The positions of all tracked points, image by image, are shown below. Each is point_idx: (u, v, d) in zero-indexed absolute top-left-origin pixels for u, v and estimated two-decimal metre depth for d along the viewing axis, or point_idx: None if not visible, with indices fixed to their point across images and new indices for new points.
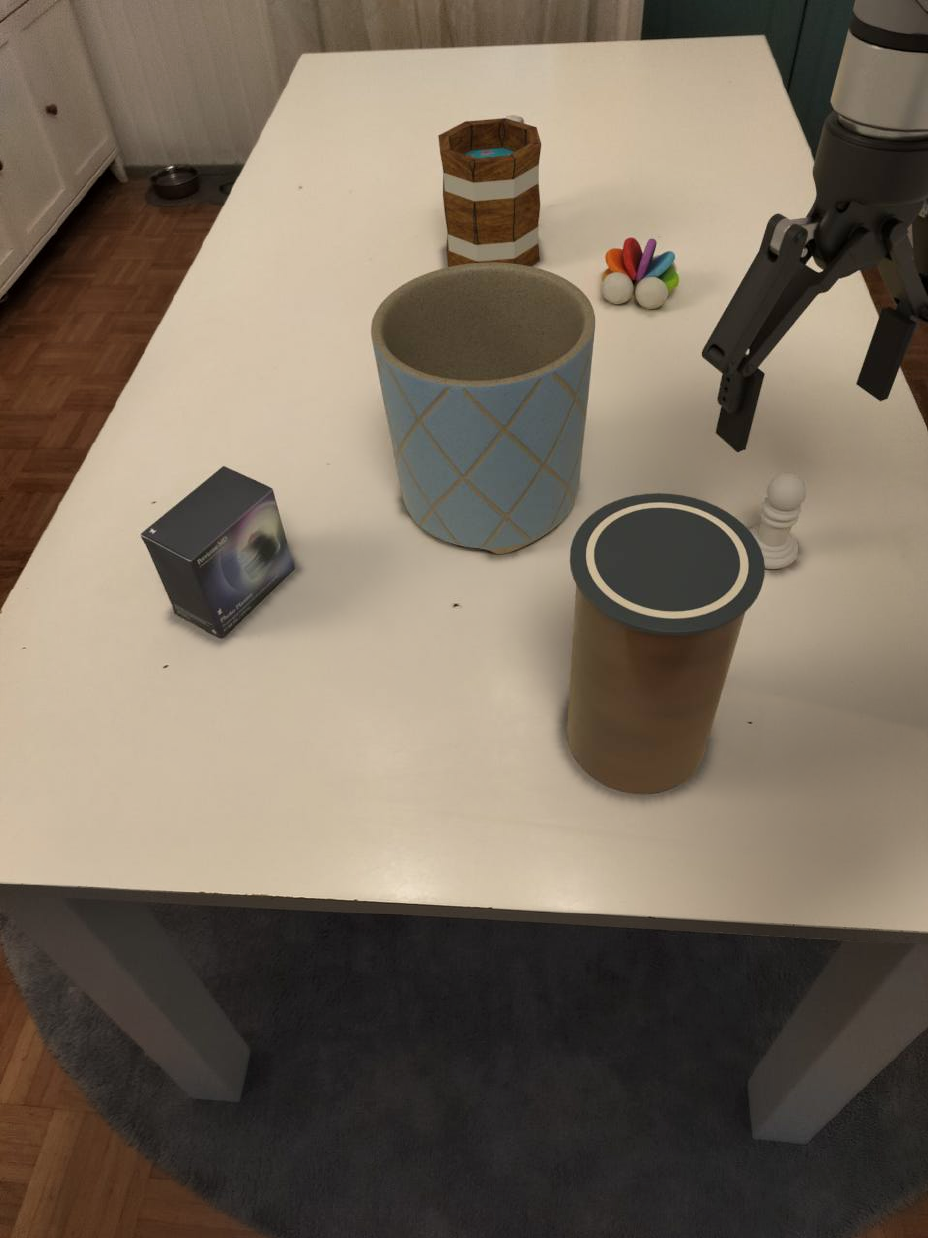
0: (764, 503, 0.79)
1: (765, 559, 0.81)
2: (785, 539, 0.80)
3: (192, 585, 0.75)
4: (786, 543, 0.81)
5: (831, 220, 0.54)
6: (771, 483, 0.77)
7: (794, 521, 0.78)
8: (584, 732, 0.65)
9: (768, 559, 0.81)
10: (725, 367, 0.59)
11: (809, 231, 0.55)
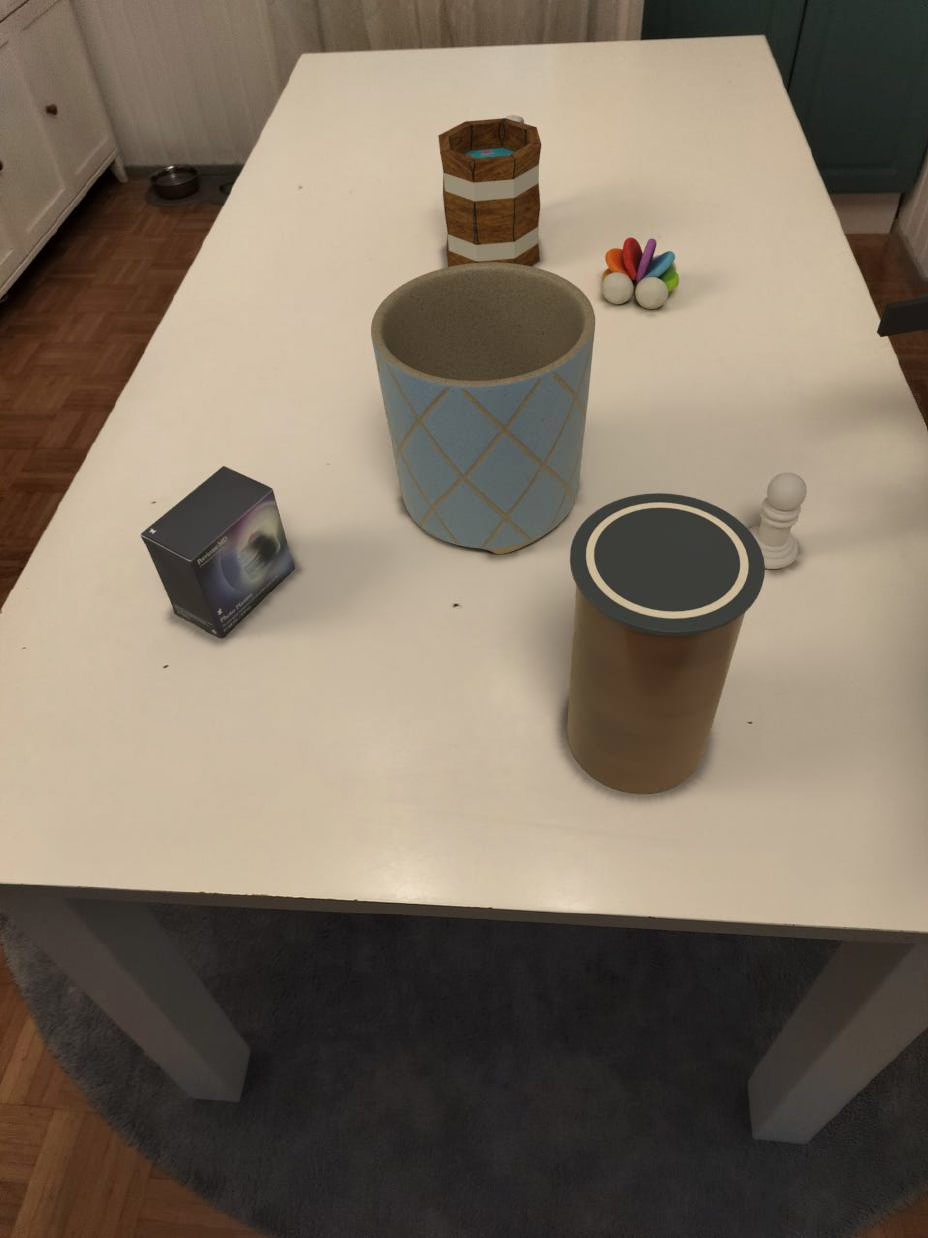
0: (764, 503, 0.79)
1: (765, 559, 0.81)
2: (785, 539, 0.80)
3: (192, 585, 0.75)
4: (786, 543, 0.81)
5: None
6: (771, 483, 0.77)
7: (794, 521, 0.78)
8: (584, 732, 0.65)
9: (768, 559, 0.81)
10: None
11: None
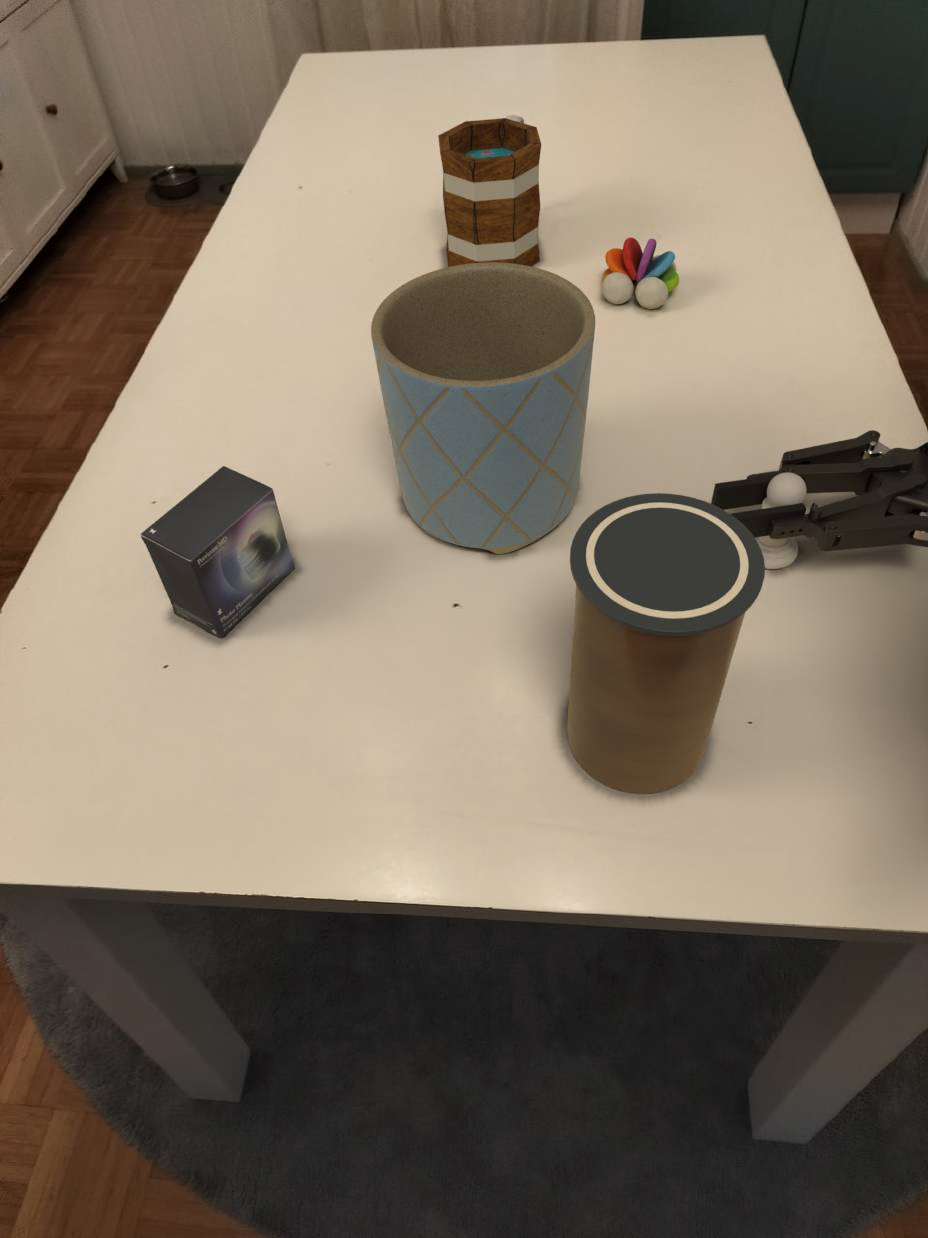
0: (764, 503, 0.79)
1: (765, 559, 0.81)
2: (785, 539, 0.80)
3: (192, 585, 0.75)
4: (786, 543, 0.81)
5: None
6: (771, 483, 0.77)
7: None
8: (584, 732, 0.65)
9: (768, 559, 0.81)
10: (786, 452, 0.81)
11: (883, 448, 0.82)
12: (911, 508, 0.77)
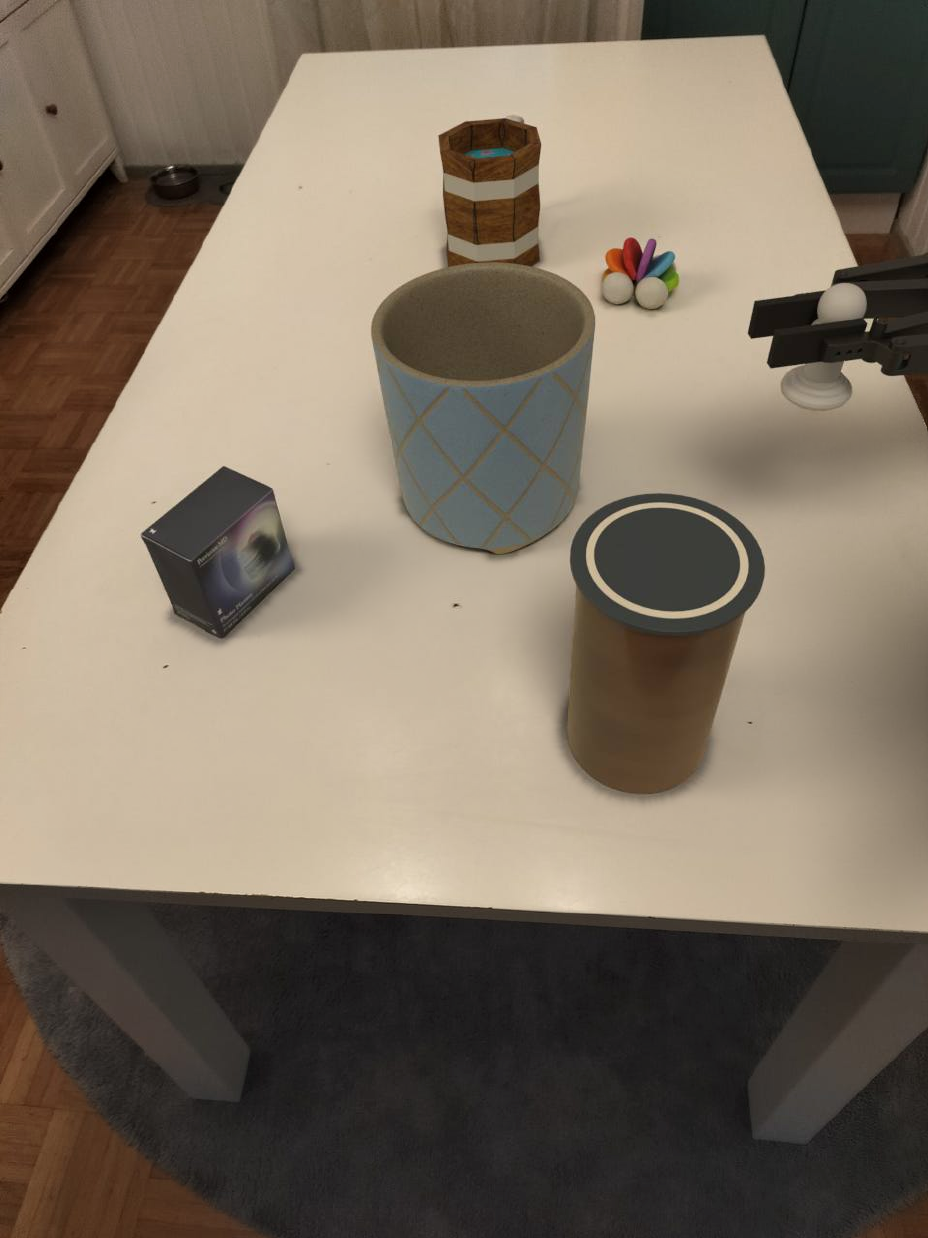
0: None
1: (813, 398, 0.67)
2: (837, 373, 0.67)
3: (192, 585, 0.75)
4: (838, 379, 0.67)
5: None
6: (824, 296, 0.63)
7: None
8: (584, 732, 0.65)
9: (817, 398, 0.67)
10: (839, 270, 0.67)
11: None
12: None
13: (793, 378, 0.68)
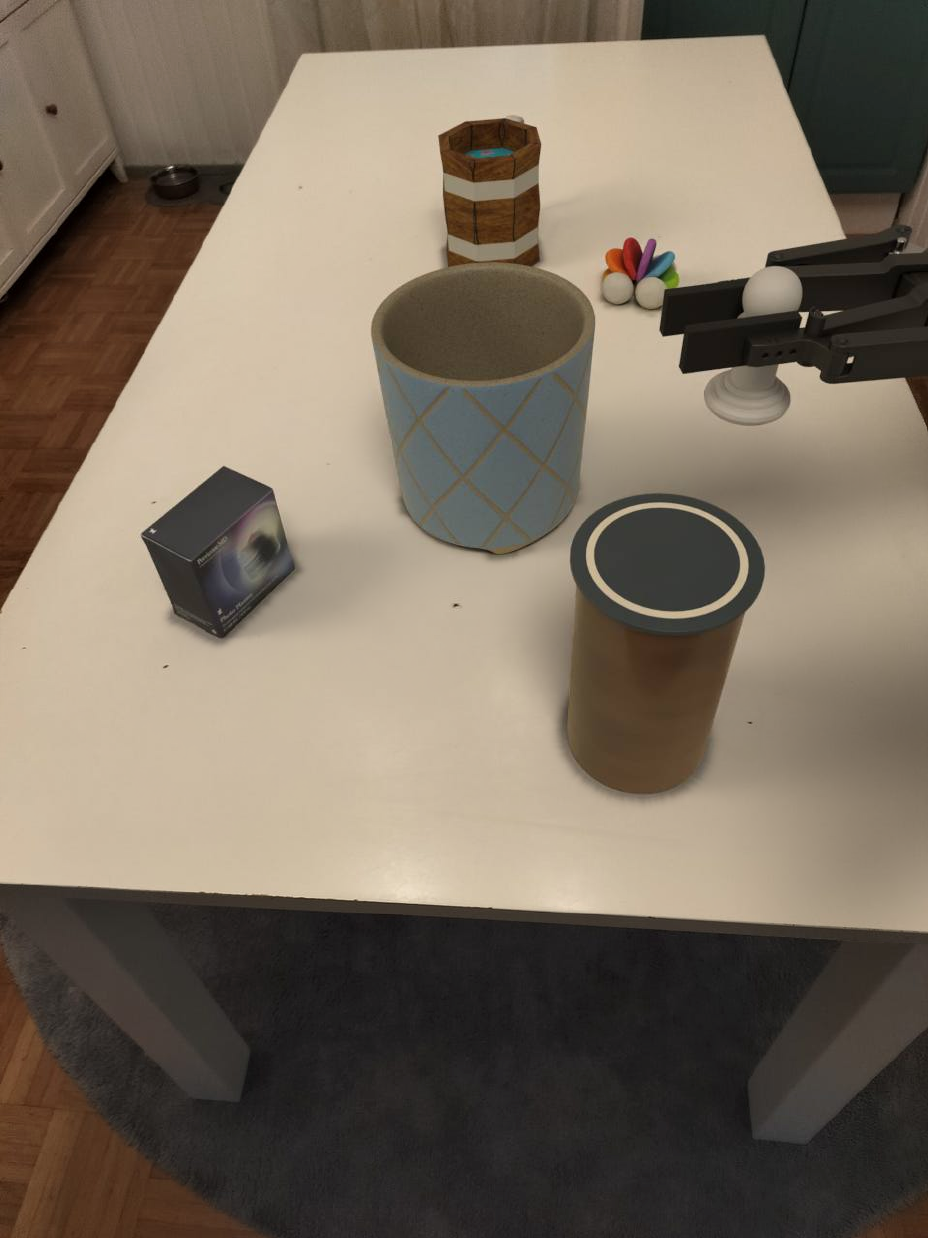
0: None
1: (741, 410, 0.54)
2: (770, 379, 0.54)
3: (192, 585, 0.75)
4: (772, 386, 0.54)
5: None
6: (749, 282, 0.50)
7: None
8: (584, 732, 0.65)
9: (745, 410, 0.54)
10: (773, 252, 0.54)
11: (917, 249, 0.55)
12: None
13: (718, 385, 0.56)
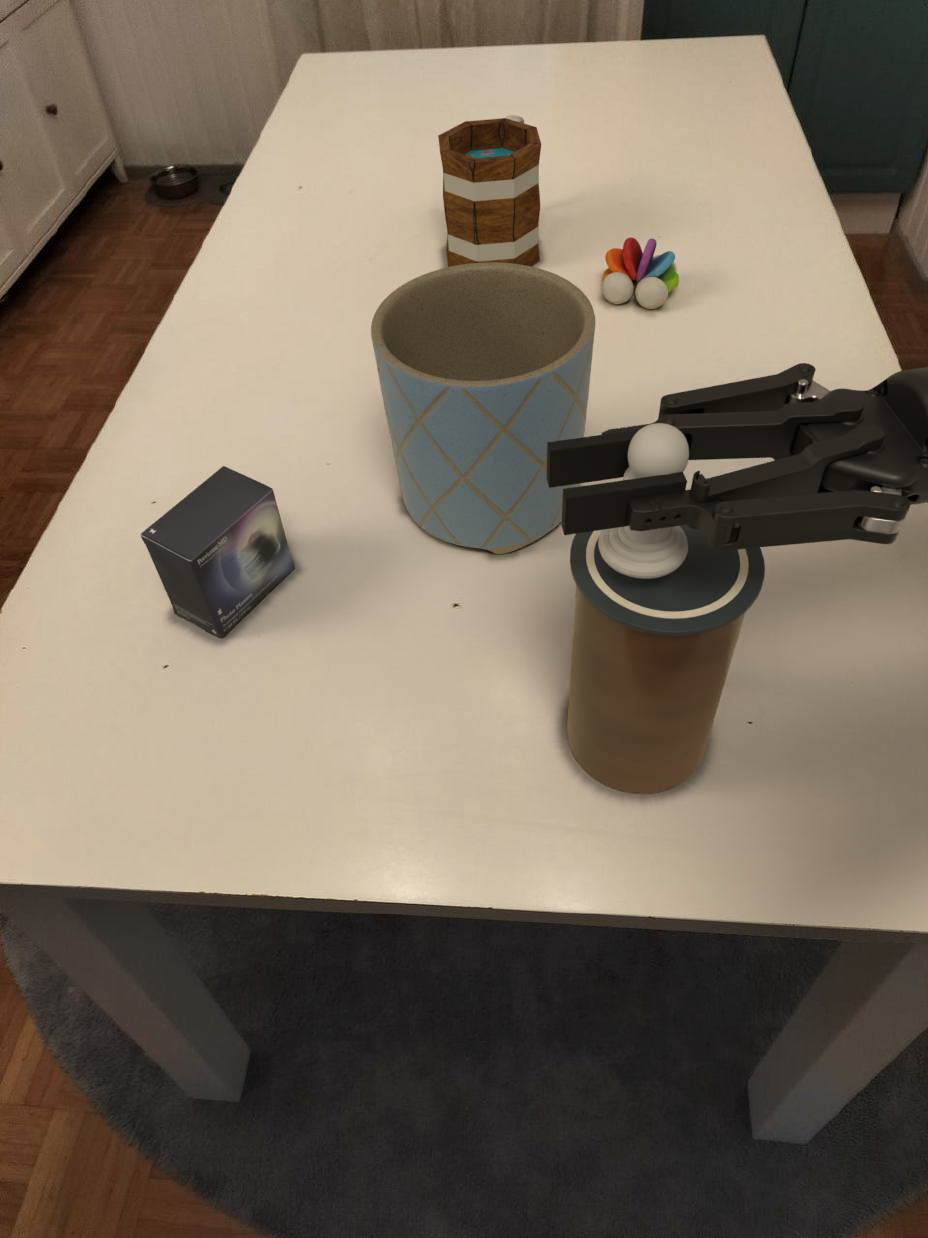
0: (626, 474, 0.49)
1: (633, 563, 0.51)
2: (663, 532, 0.51)
3: (192, 585, 0.75)
4: (666, 538, 0.51)
5: None
6: (633, 441, 0.47)
7: None
8: (584, 732, 0.65)
9: (638, 563, 0.51)
10: (667, 396, 0.51)
11: (820, 390, 0.52)
12: (859, 481, 0.48)
13: (611, 533, 0.53)
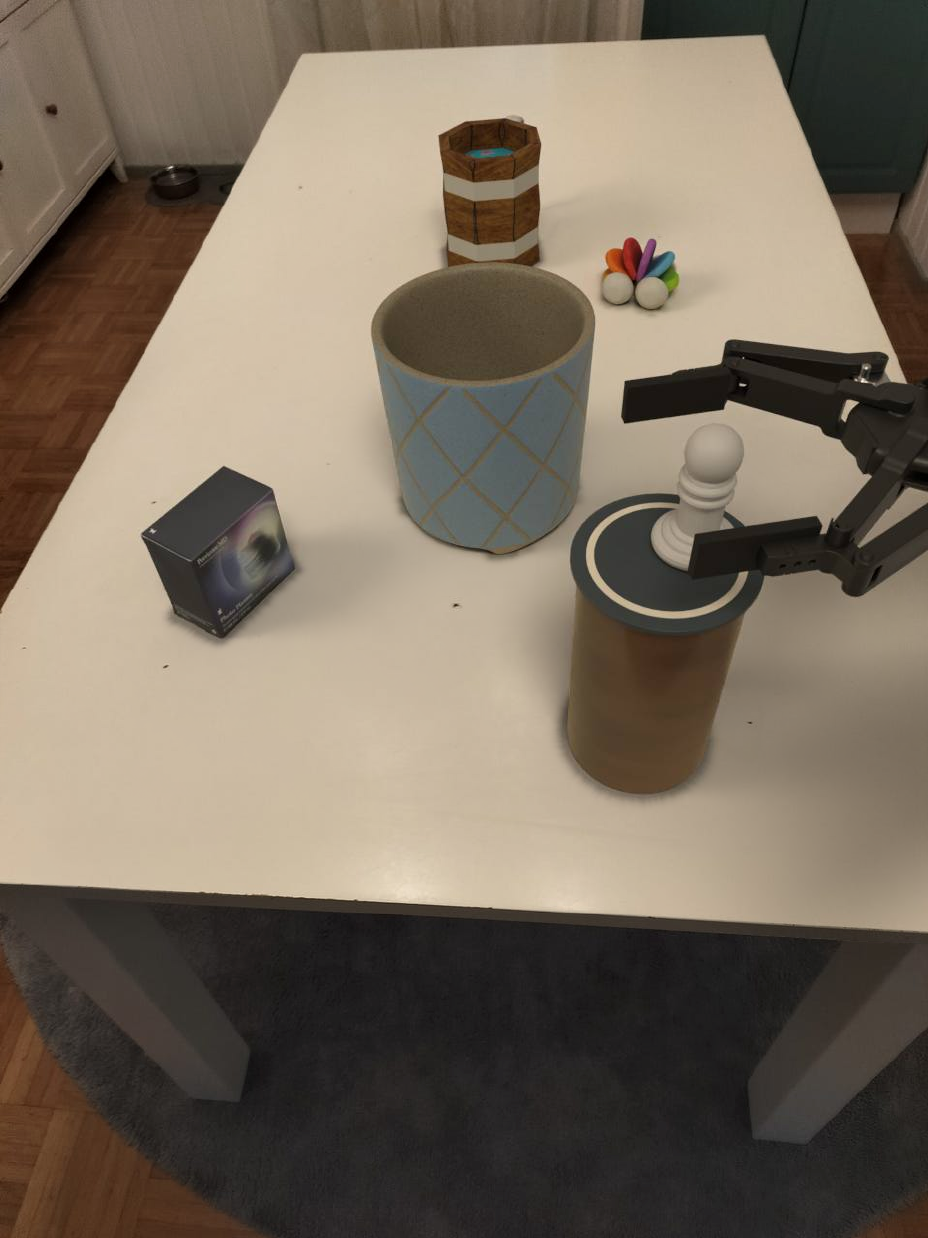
0: (682, 472, 0.52)
1: (687, 557, 0.54)
2: (716, 528, 0.53)
3: (192, 585, 0.75)
4: None
5: (902, 383, 0.53)
6: (690, 440, 0.50)
7: (728, 500, 0.51)
8: (584, 732, 0.65)
9: None
10: (734, 340, 0.56)
11: (882, 380, 0.54)
12: (911, 471, 0.49)
13: (664, 529, 0.55)
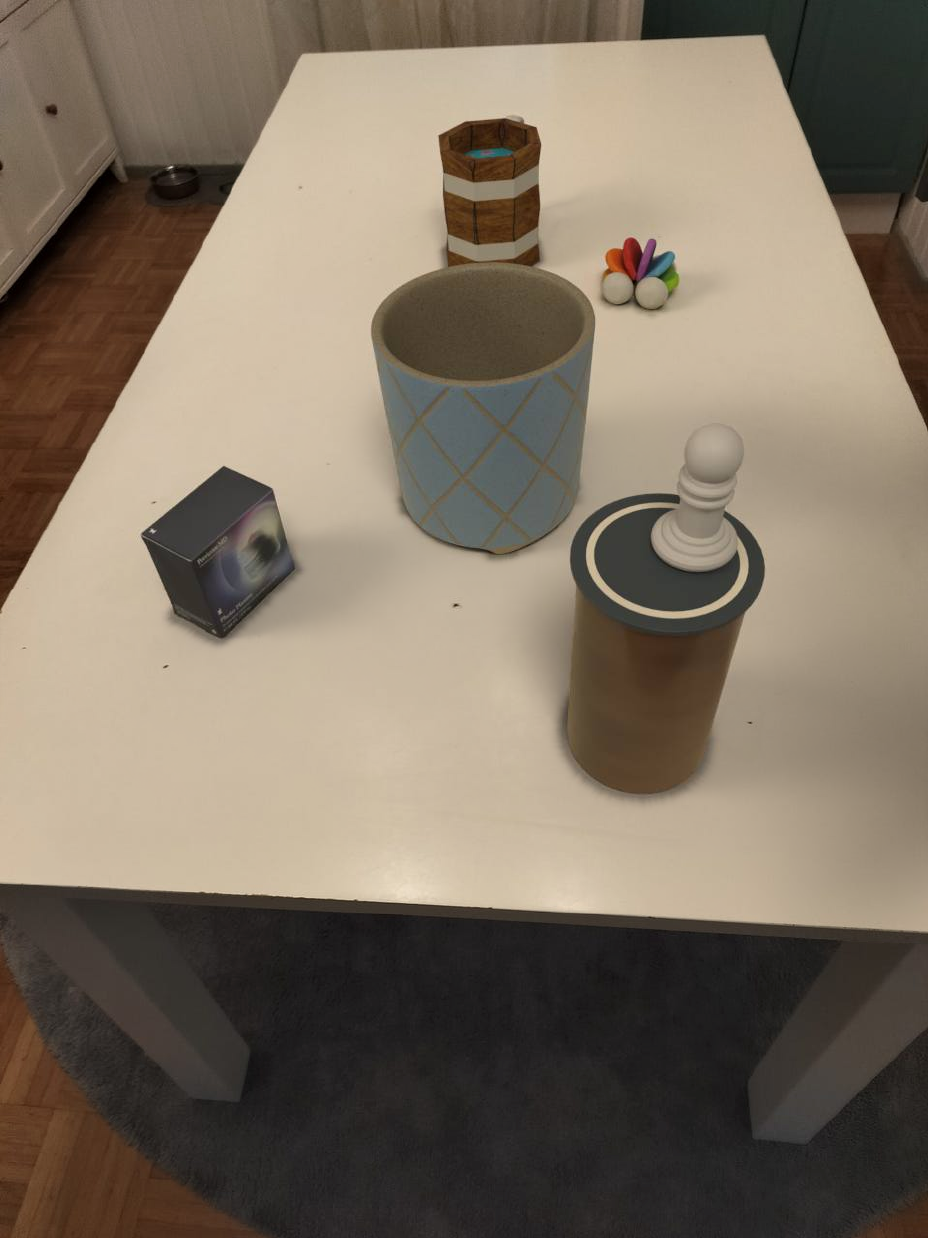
0: (682, 472, 0.52)
1: (687, 557, 0.54)
2: (716, 528, 0.53)
3: (192, 585, 0.75)
4: (718, 533, 0.54)
5: None
6: (690, 440, 0.50)
7: (728, 500, 0.51)
8: (584, 732, 0.65)
9: (691, 557, 0.54)
10: None
11: None
12: None
13: (664, 529, 0.55)
